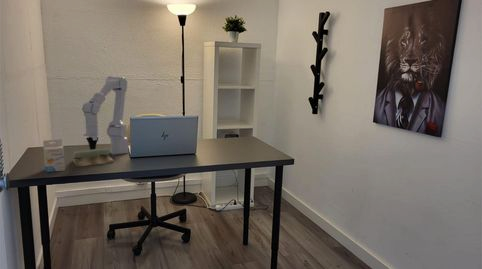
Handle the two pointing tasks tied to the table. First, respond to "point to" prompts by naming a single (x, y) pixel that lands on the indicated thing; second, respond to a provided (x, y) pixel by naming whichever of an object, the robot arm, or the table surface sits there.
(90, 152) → the hinge leaf
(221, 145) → the table surface
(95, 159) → the base leaf
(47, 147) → the ink box
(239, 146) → the table surface
